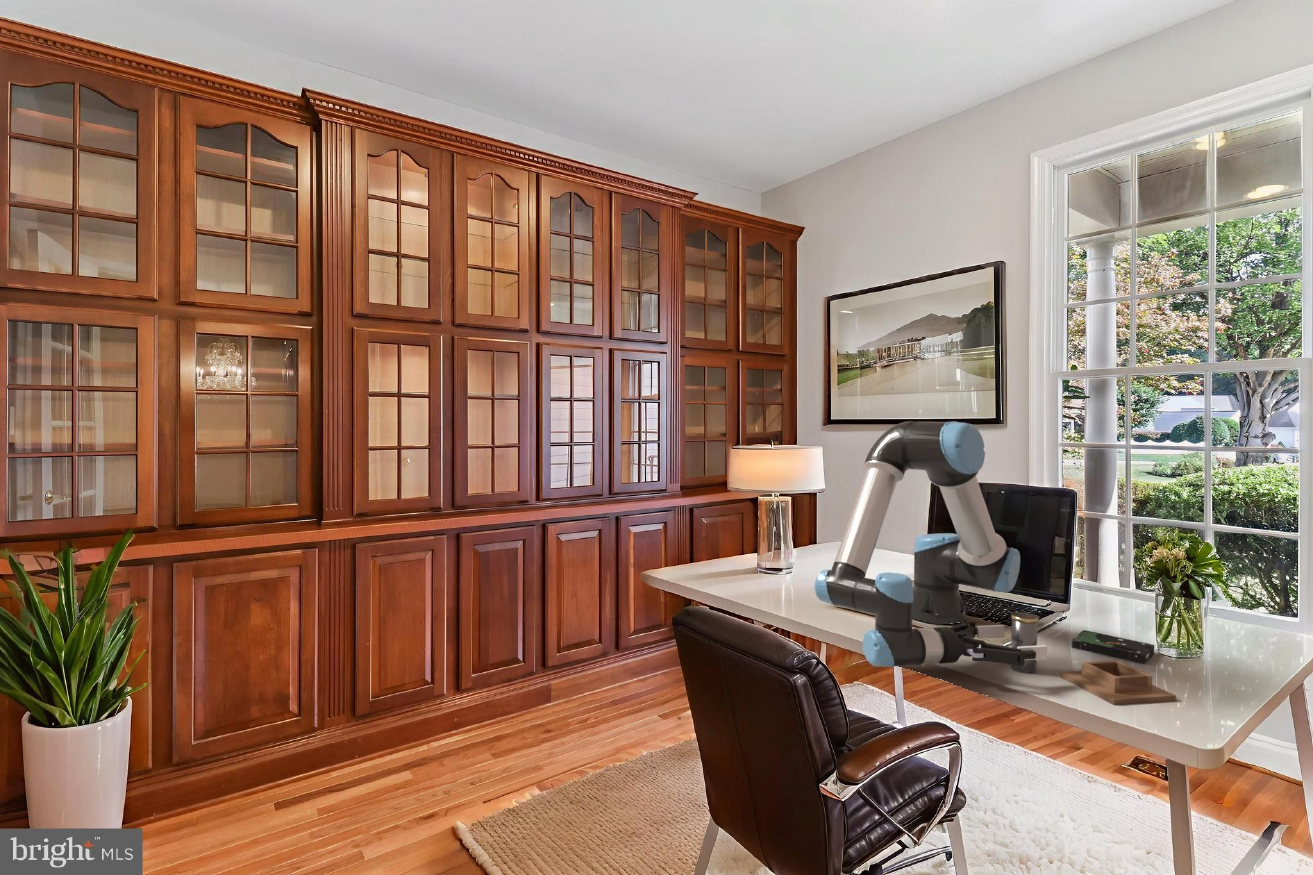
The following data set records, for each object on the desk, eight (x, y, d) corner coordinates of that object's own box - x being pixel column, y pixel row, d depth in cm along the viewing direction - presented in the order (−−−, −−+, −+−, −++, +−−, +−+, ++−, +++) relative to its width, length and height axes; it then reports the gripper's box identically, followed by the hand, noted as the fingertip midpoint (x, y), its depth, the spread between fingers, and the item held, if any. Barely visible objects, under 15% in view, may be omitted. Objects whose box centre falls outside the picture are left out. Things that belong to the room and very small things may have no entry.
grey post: (1004, 665, 151) (1006, 612, 151) (1025, 664, 152) (1027, 611, 151) (1020, 674, 146) (1022, 620, 145) (1042, 672, 147) (1043, 619, 146)
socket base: (1060, 676, 145) (1060, 658, 145) (1117, 673, 147) (1117, 655, 147) (1113, 704, 131) (1114, 684, 131) (1175, 700, 133) (1176, 680, 133)
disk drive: (1154, 656, 159) (1082, 639, 170) (1154, 644, 159) (1083, 628, 170) (1145, 667, 152) (1070, 649, 163) (1145, 655, 152) (1071, 638, 163)
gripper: (905, 642, 158) (987, 638, 161) (969, 685, 133) (1065, 680, 136) (905, 611, 157) (988, 607, 160) (970, 648, 133) (1066, 643, 136)
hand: (1024, 641), depth 148 cm, fingers open, 13 cm apart
